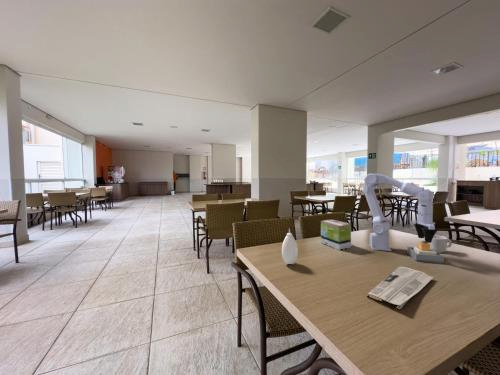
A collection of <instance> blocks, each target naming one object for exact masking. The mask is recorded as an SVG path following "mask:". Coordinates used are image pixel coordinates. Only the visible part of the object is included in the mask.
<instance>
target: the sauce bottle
mask: <svg viewBox="0 0 500 375" xmlns="http://www.w3.org/2000/svg"><path fill="white" fill-rule="evenodd" d="M298 254H299V249H298V244H297V241H296V239H295V237H294V236H293V233H291V229H290V228H288V232H287V233H286V236H285V238H284V240H283V242H282V245H281V256H282V260H283V262H284V263H285V264H286V265H288V264H292V265H294V264H295V263H296V262H297V260H298V256H299V255H298Z"/></svg>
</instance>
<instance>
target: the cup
mask: <svg viewBox="0 0 500 375" xmlns="http://www.w3.org/2000/svg"><path fill="white" fill-rule="evenodd" d="M429 244H430V248H431V249H434V250H435V251H437V252H438V253H440V254H441V253H442V254H443V253H446V251H447V248H450V247H452V246H453V241H452V240H451V238H448V237H446V236H444V235H437V234H435V235H434V236H433V239H432V242H431V243H429Z"/></svg>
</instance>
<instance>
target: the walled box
mask: <svg viewBox="0 0 500 375" xmlns="http://www.w3.org/2000/svg"><path fill="white" fill-rule="evenodd" d="M406 247H407V249H406V250H407V252H406V253H407V255H408V256H410V257H411V258H412V259H413V260H414V261H415V262H421V263H434V264H445V256H444V255H443V254H441V253H439V252H437V251H435V250H434V249H431V248H430V251H421V250H419V249H418V247H419V246H406Z"/></svg>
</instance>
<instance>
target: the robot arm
mask: <svg viewBox="0 0 500 375" xmlns="http://www.w3.org/2000/svg"><path fill="white" fill-rule="evenodd" d="M363 180H364V183H363V188H362V190H363V193H364V196H365V198H366V202H367V204H368V207H369V210H370V213H371V215H372V222H371V223H372V230H373V232H370V233H369V247H370V248H371V249H372V250H373V251H384V252H385V251H386V252H387V251H388V252H392V249H391V248H390V232H389V231H390V230H391V228H392V227H391V224H390V223H389V221H388V220H387V218H386V217H385V215H383V214H384V213H383V212H382V209H381V206H380V204H379V201H378V198H377V196H376V192H375V190H376V188H377V187H378V186H379V185H380V184H387V185H389V186H393V187H396V188H397V189H400V190H401V192H402V193H404V194H405V195H408V196H411V197H413V198H415V199H417V200H418V204H417V219H416V221H415V222H416V223H414V224H413V226H414V228H415V231H416V234H417V237H418V239H424V241H425V242H426V243H431V242H432V239H433V236H434V235H436V233H437V232H438V229H436V227H435V225H436V222H434V221H433V216H434V215H433V212H434V204H433V202H434V201H433V199H434V198H435V193H434V191H432V190H431V189H428V188H427V189H425V187H420V186H419V185H415V183H414V182H402V181H399V180H397V179H395V178H392V177H390V176H388V175H385V174H381V173H379V172H377V173H368V174H367V175H366V176H365V178H364V179H363Z"/></svg>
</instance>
